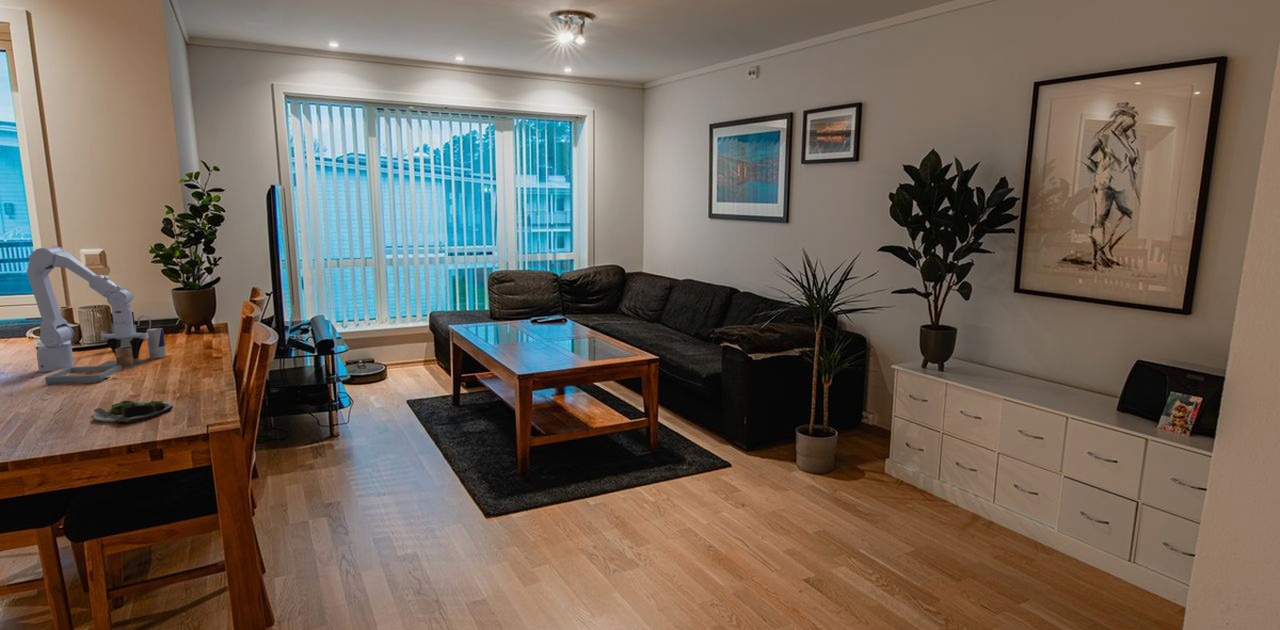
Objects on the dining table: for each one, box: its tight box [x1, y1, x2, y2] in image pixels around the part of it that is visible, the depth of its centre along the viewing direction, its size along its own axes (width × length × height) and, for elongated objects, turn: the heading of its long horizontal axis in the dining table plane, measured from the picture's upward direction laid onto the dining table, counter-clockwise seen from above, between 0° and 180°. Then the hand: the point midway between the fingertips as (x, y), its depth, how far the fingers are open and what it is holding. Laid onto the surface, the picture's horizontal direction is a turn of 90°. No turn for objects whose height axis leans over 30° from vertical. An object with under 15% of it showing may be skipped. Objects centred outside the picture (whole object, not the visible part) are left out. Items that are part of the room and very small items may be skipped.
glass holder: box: [110, 311, 152, 347], centre depth 281 cm, size 9×14×15 cm, turn 104°
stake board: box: [97, 358, 152, 370], centre depth 253 cm, size 14×14×4 cm
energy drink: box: [145, 327, 167, 360], centre depth 264 cm, size 5×5×12 cm
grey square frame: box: [44, 365, 123, 385], centre depth 238 cm, size 16×14×2 cm
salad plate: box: [93, 400, 174, 424], centre depth 200 cm, size 19×18×5 cm
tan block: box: [115, 346, 140, 365], centre depth 255 cm, size 5×7×6 cm
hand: (127, 358), depth 254 cm, fingers closed on tan block, 5 cm apart
